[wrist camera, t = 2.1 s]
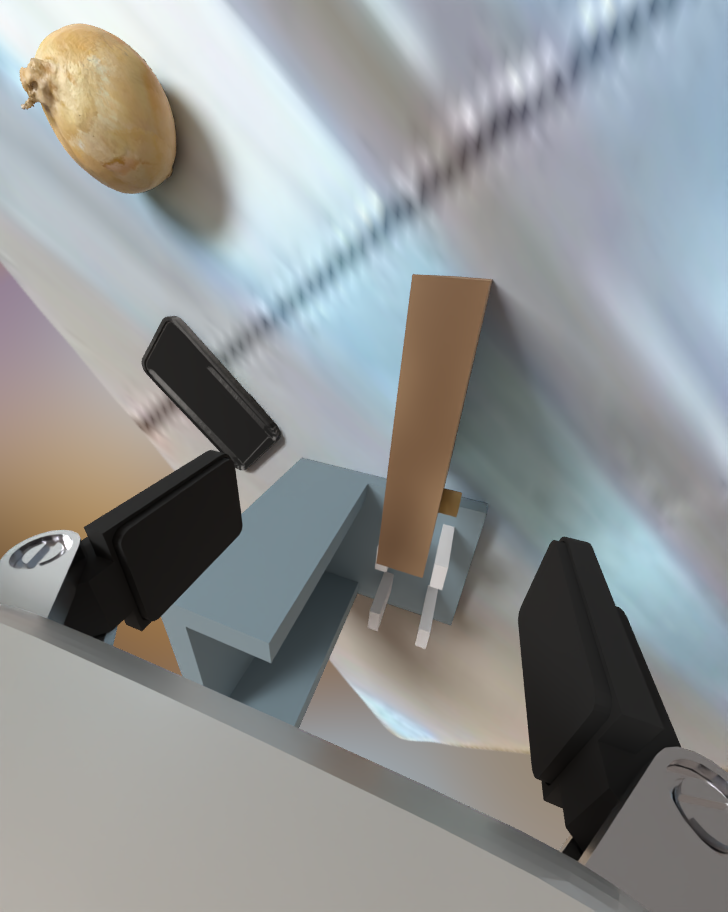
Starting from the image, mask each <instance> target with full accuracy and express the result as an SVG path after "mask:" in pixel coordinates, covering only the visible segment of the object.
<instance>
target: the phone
mask: <svg viewBox="0 0 728 912" xmlns="http://www.w3.org/2000/svg"><path fill="white" fill-rule="evenodd" d="M142 367H143V369H144V371H145V373H146V374H147V375H148V376H149V377H150V378H151V379H152V380H153V381H154V382H155V384H156V385H157V386H158V387H159V388H160V389H161V390H162V391H163V392H164V393H165V394H166V395H167V396H168V397H169V398H170V399H171V400H172V401H173V403H174V404H175V405H176V406H177V407H178V408H179V409H180V410H181V411H182V412H183V413H184V414H185V415H186V416H187V417H188V418H189V419H190V420H191V422H192V423H193V424H194V425H195V426H196V427H197V428H198V429H199V430H200V431H201V432H202V433H203V434H204V435H205V436H206V437H207V438H208V439H209V441H210V442H211V443H212V444H213V445H214V446H215V447H216V448H217V449H218V450H219V451H220V452H221V453H225V454H228V455H229V456H230V457H231V460H233V462H234V464H235V468H237V469H239V470H245V469H247V468H248V467H249V466H251V465H252V464H253V463H254V462H255V461H256V460H257V459H258V458H259V457H260V456H261V455H262V454H263V453H264V452H266V451H267V450H268V449H269V448H270V447H271V446H272V445H273V444H274V443H275V442H276V441H277V440H278V439H279V438H280V430H279V428H278V426H277V425H276V424H275V423H274V421H273V420H272V419H271V418H270V417H269V416H268V415H267V414H266V413H265V411H264V410H263V409H262V408H261V407H260V406H259V405H258V404H257V402H256V401H255V400H254V399H253V398H252V397H251V396H250V395H249V394H248V392H247V391H246V390H245V389H244V388H243V387H242V386H241V385H240V384H239V382H238V381H237V380H236V379H235V378H234V377H233V376H232V375H231V374H230V372H229V371H228V370H227V369H226V368H225V367H224V366H223V365H222V364H221V362H220V361H219V360H218V359H217V358H216V357H215V356H214V355H213V353H212V352H211V351H210V350H209V349H208V348H207V347H206V346H205V345H204V343H203V342H202V341H201V340H200V339H199V338H198V337H197V336H196V335H195V333H194V332H193V331H192V330H191V329H190V328H189V327H188V326H187V325H186V323H185V322H184V321H183V320H182V319H181V318H179V317H177V316H170V317H165V318H164V319H163V320H162V322H161V323H160V325H159V327H158V329H157V331H156V333H155V335H154V337H153V339H152V341H151V343H150V345H149V347H148V349H147V350H146V352H145V354H144V356H143V358H142Z"/></svg>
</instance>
